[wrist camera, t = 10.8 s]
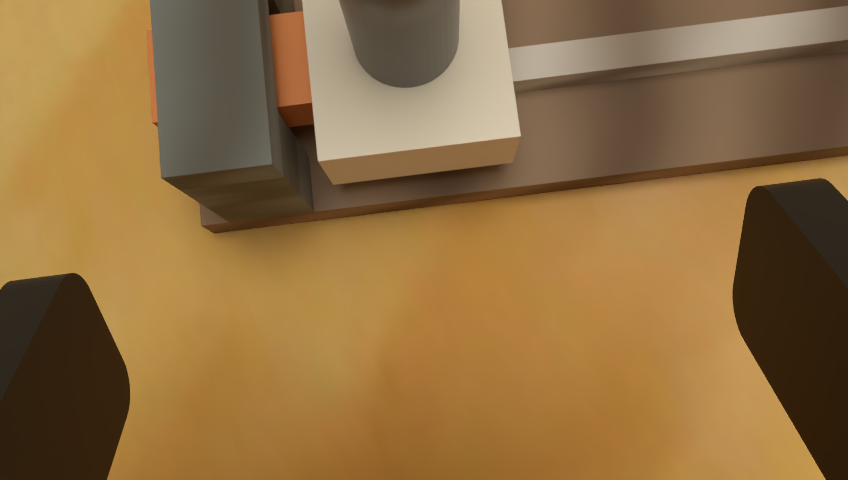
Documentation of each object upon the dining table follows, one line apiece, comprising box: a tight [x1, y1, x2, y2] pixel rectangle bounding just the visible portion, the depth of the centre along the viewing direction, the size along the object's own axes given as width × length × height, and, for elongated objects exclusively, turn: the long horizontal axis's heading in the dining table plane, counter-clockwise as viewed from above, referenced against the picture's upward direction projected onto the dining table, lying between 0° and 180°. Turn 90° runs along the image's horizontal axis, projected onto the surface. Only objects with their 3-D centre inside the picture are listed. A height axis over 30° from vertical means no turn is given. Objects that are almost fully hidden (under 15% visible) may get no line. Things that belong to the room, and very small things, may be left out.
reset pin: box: [147, 11, 314, 127], centre depth 25 cm, size 5×3×2 cm, turn 97°
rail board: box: [150, 0, 848, 233], centre depth 25 cm, size 30×8×8 cm, turn 97°
